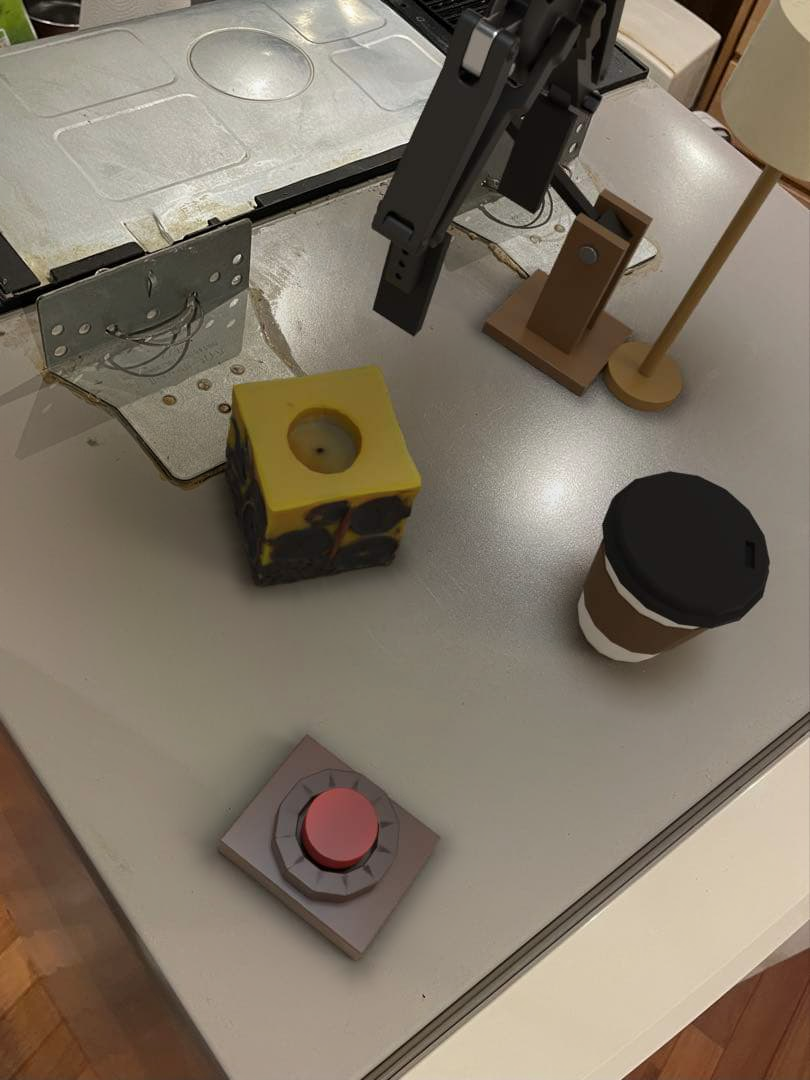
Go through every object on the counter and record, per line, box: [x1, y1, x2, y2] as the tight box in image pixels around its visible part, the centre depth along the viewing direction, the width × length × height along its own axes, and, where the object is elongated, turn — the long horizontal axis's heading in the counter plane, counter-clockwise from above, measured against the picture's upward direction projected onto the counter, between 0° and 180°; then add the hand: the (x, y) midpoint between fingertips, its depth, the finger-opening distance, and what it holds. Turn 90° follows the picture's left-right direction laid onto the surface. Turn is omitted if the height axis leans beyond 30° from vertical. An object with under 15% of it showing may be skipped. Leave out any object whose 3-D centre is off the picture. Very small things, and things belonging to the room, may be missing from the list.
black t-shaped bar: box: [505, 115, 633, 242], centre depth 74 cm, size 14×5×2 cm, turn 55°
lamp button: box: [301, 788, 378, 869], centre depth 54 cm, size 4×4×2 cm
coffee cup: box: [577, 470, 771, 663], centre depth 66 cm, size 11×11×12 cm
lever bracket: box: [481, 188, 654, 398], centre depth 79 cm, size 10×9×13 cm
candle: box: [224, 364, 423, 587], centre depth 66 cm, size 10×10×10 cm
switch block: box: [217, 734, 442, 961], centre depth 57 cm, size 10×8×4 cm
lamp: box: [602, 0, 810, 412], centre depth 71 cm, size 11×11×32 cm
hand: (461, 256), depth 56 cm, fingers open, 13 cm apart
